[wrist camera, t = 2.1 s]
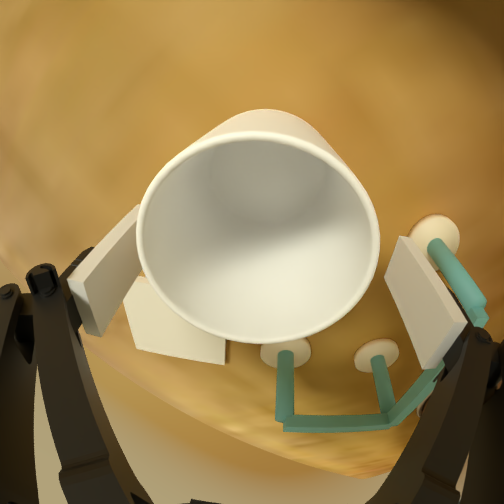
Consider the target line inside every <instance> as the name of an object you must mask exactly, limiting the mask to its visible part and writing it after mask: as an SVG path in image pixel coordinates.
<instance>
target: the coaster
mask: <svg viewBox="0 0 504 504" xmlns="http://www.w3.org/2000/svg"><path fill="white" fill-rule="evenodd" d="M123 302H124V306H125V310H126V314H127V317H128V321H129V325H130V328H131V332H132V335H133V338H134V342H135V345H136V348H137V349H141V350H145V351H149V352H154V353H159V354H163V355H168V356H173V357H179V358H184V359H190V360H195V361H201V362H207V363H214V364H220V365H225V358H226V339H224V338H220V337H217V336H214V335H212V334H209V333H207V332H204V331H202V330H200V329H198V328H196V327H194V326H193V325H191V324H190V323H188V322H186V321H185V320H183V319H182V318H181V317H179V316H178V315H177V314H176V313H174V312H173V311H172V310H171V309H170V308H169V307H168V306H167V305H166V304H165V303H164V302H163V301H162V300H161V299H160V297H159V296H158V295H157V294H156V292H155V291H154V289H153V288H152V286H151V285H150V283H149V281H148V279H147V277H141V276H138V277H137V278H136V280H135V281H134V283H133V285H132V286H131V288H130V290H129V291H128V293H127V294H126V296H125V298H124V299H123Z"/></svg>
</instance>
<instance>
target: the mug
mask: <svg viewBox="0 0 504 504" xmlns="http://www.w3.org/2000/svg"><path fill="white" fill-rule="evenodd" d="M136 244H137V250H138V256H139V260H140V263H141V266H142V269H143V271H144V273H145V275H146V277H147V279H148V281H149V283H150V285H151V286H152V288H153V289H154V291H155V292H156V294H157V295H158V296H159V297H160V299H161V300H162V301H163V302H164V303H165V304H166V305H167V306H168V307H169V308H170V309H171V310H172V311H173V312H174V313H176V314H177V315H178V316H179V317H181V318H182V319H183V320H185V321H186V322H188V323H190V324H191V325H193V326H194V327H196V328H198V329H200V330H202V331H204V332H207V333H209V334H212V335H214V336H217V337H220V338H224V339H227V340H231V341H236V342H242V343H251V344H274V343H283V342H289V341H294V340H298V339H301V338H305V337H308V336H310V335H313V334H315V333H318V332H320V331H322V330H324V329H325V328H327V327H329V326H331V325H332V324H334V323H335V322H337V321H338V320H340V319H341V318H342V317H343V316H345V315H346V314H347V313H348V312H349V311H350V310H351V309H352V308H353V307H354V306H355V305H356V304H357V303H358V301H359V300H360V299H361V297H362V296H363V295H364V293H365V292H366V290H367V288H368V286H369V284H370V282H371V280H372V278H373V276H374V273H375V270H376V267H377V263H378V257H379V251H380V231H379V224H378V219H377V216H376V212H375V209H374V206H373V204H372V202H371V200H370V198H369V196H368V194H367V192H366V190H365V189H364V187H363V186H362V184H361V183H360V181H359V180H358V179H357V177H356V176H355V175H354V173H353V172H352V171H351V170H350V169H349V167H348V166H347V165H346V164H345V163H344V161H343V160H342V159H341V158H340V157H339V155H338V154H337V153H336V152H335V151H334V150H333V148H332V147H331V146H330V145H329V144H328V143H327V142H326V141H325V139H324V138H323V137H322V136H321V135H320V134H319V133H318V132H317V131H316V130H315V129H314V128H313V127H312V126H311V125H310V124H308V123H307V122H305V121H304V120H302V119H301V118H299V117H297V116H295V115H293V114H290V113H287V112H284V111H279V110H273V109H258V110H252V111H247V112H244V113H241V114H238V115H236V116H234V117H232V118H230V119H228V120H226V121H225V122H223V123H222V124H220V125H219V126H217V127H216V128H214V129H213V130H211V131H210V132H208V133H207V134H206V135H204V136H203V137H201V138H200V139H198V140H197V141H196V142H194V143H193V144H191V145H190V146H189V147H187V148H186V149H185V150H183V151H182V152H180V153H179V154H178V155H177V156H175V157H174V158H173V159H172V160H171V161H169V162H168V163H167V164H166V165H165V166H164V167H163V168H162V169H161V171H160V172H159V173H158V174H157V175H156V176H155V178H154V179H153V181H152V182H151V184H150V185H149V187H148V189H147V191H146V193H145V195H144V197H143V200H142V202H141V205H140V209H139V213H138V217H137V226H136Z"/></svg>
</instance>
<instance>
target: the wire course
mask: <svg viewBox="0 0 504 504" xmlns="http://www.w3.org/2000/svg"><path fill="white" fill-rule="evenodd" d="M407 237H410V238H411V239H412V240H413V241H414V242H415V244H416V245H417V246H418V248H419V249H420V251H421V252H422V253H423V255H424V256H425V257H426V259H427V260H428V262H429V263H430V264H431V266H432V267H433V269H434V270H435V271H437V270H440V271H441V273H442V274H443V276H444V277H445V279H446V280H447V282H448V283H449V285H450V286H451V288H452V290H453V291H454V293H455V294H456V296H457V298H458V299H459V301H460V303H461V304H462V306H463V308H464V309H465V311H466V314H467V315H468V317H469V318H470V320H471V322H472V324H473V325H474V327H475V326H476V327H481V328H483V327H484V325H485V324H486V322H487V321H488V319H489V317H488V315H487V313H486V312H485V310H484V308H485V306H486V303H487V300H486V298H485V297H484V295H483V294H482V292H481V291H480V289H479V288H478V286H477V285H476V284H475V282H474V281H473V279H472V278H471V277H470V275H469V274H468V273H467V271H466V270H465V269H464V267H463V266H462V265H461V263H460V262H459V261H458V259H457V258H456V257H455V254H456V252H457V249H458V246H459V241H460V235H459V231H458V228H457V226H456V225H455V224H454V223H453V222H452V221H451V220H450V219H449V218H448V217H447V216H445V215H442V214H432V215H428V216H426V217H424V218H422V219H421V220H419V221H418V222H417V223H416V224H415V225H414V226H413V227H412V229H411V230H410V232H409V234H408V236H407ZM260 356H261V359H262V360H263V361H264V362H265V363H266V364H267V365H269V366H271V367H274V368H277V386H276V410H275V420H276V421H278V422H282V423H283V432H304V433H335V432H359V431H373V430H384V429H389V428H390V427H392V426H397V425H399V424H400V423H401V422H402V421H403V420H404V419H405V418H406V417H407V416H408V415H409V414H410V413H411V412H412V411H413V410H414V409H415V408H416V407H417V406H418V405H419V404H420V403H421V402H422V401H423V400H424V399H425V398H426V397H427V396H428V395H429V394H430V393H431V392H432V391H433V390H434V387H435V385H436V382H437V380H436V381H435V382H432V381H433V380H434V379H435V377H436V376H437V375H438V374H439V372H440V371H441V370H442V369H443V367H444V366H445V364H444V361H443V359H442V360H441V362H440V363H439V364H438V366H437V367H436V368H434V369H425V370H424V372H423V373H422V374H421V375H420V377H419V378H418V379H417V380H416V382H415V383H414V384H413V385H412V386H411V387H410V389H409V390H408V391H407V392H406V393H405V394H404V395H403V397H402V398H401V399H400V400H399V401H398V402H397V403H396V402H395V398H394V394H393V389H392V385H391V381H390V377H389V373H388V369H387V367H389V366H390V365H392V364H393V363H394V362H395V361H396V360H397V358H398V356H399V350H398V346H397V344H396V342H395V341H393V340H391V339H385V338H383V339H376V340H372V341H370V342H368V343H366V344H364V345H362V346H361V347H360V348H359V349H358V350H357V351H356V353H355V355H354V362H355V367H356V368H357V369H358V370H359V371H362V372H373V376H374V381H375V386H376V391H377V396H378V401H379V406H380V412H381V414H368V415H337V416H322V415H294V368H296V367H299V366H301V365H303V364H305V363H306V362H307V361H308V360H309V358H310V356H311V347H310V343H309V341H308V340H307V339H306V338H301V339H298V340H294V341H289V342H283V343H274V344H262V345H261V352H260Z"/></svg>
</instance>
